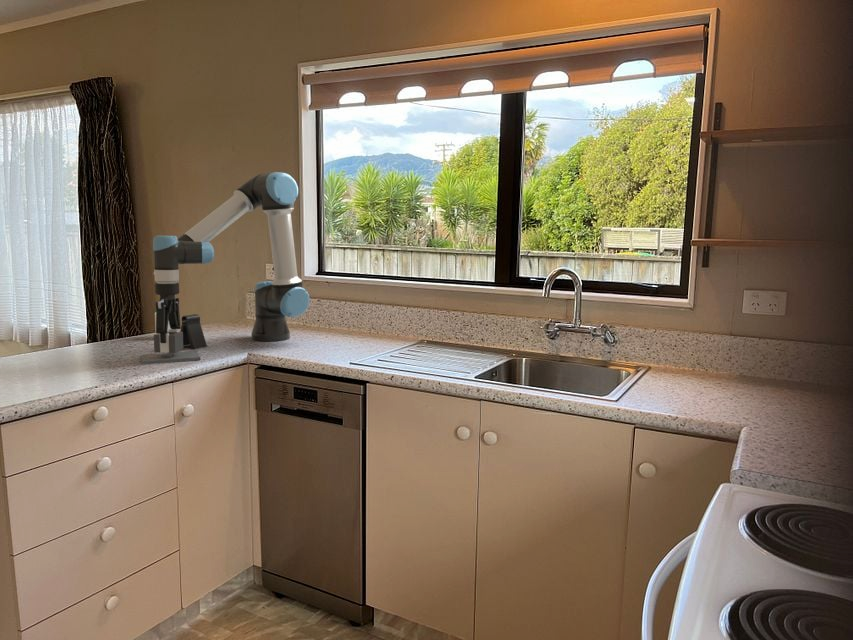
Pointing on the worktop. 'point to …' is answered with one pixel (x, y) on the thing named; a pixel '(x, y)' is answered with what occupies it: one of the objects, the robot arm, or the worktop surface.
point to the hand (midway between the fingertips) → (169, 350)
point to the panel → (169, 357)
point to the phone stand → (192, 332)
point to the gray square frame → (170, 342)
